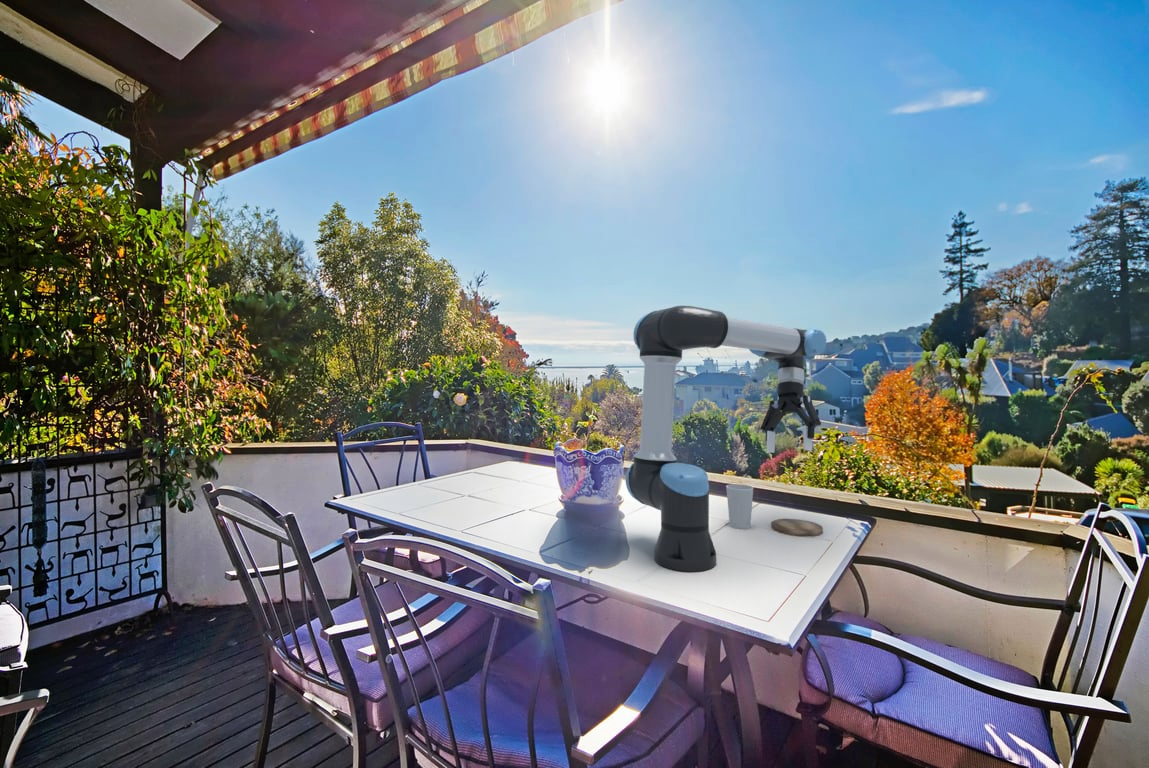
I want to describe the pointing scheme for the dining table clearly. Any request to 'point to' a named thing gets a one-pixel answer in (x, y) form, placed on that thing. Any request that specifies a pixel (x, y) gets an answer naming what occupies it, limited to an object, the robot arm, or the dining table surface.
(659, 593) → the dining table surface
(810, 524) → the disc
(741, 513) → the cup
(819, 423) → the robot arm
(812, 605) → the dining table surface
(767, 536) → the dining table surface
